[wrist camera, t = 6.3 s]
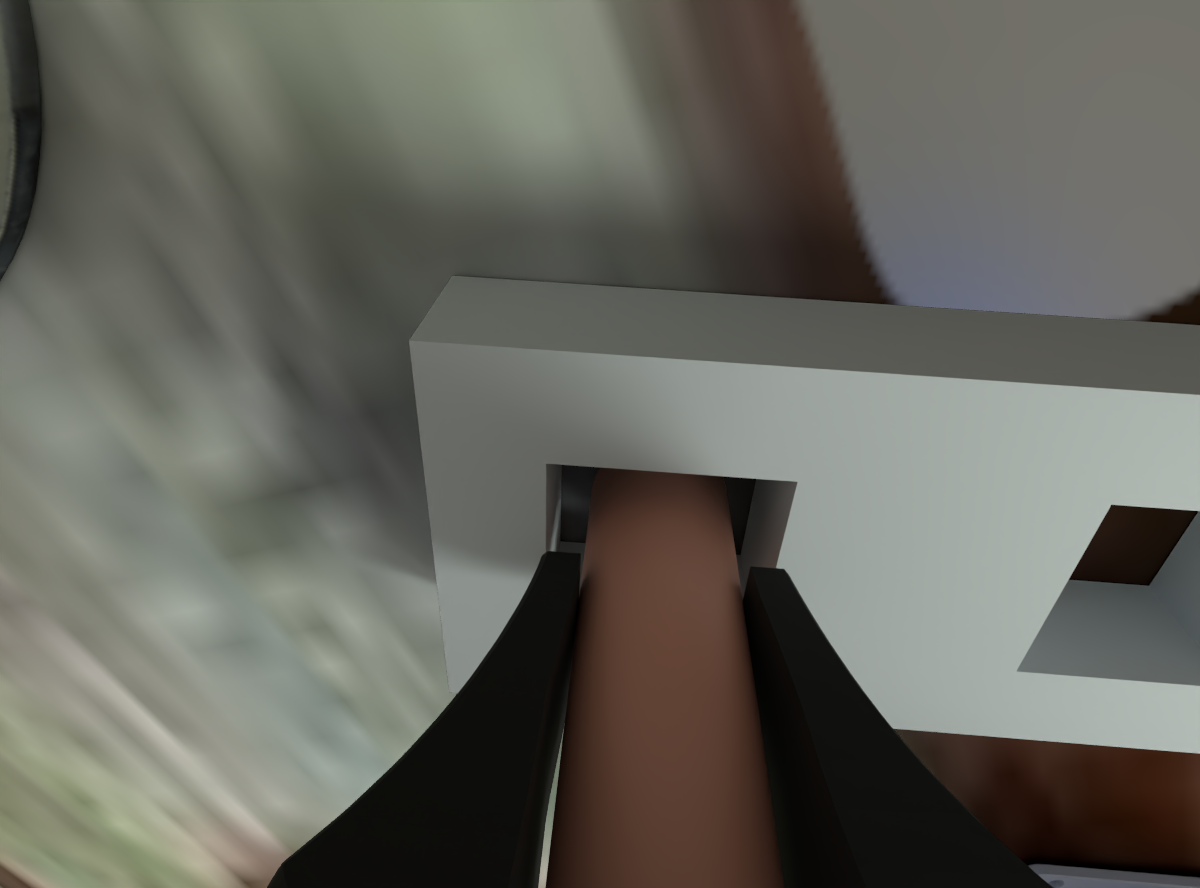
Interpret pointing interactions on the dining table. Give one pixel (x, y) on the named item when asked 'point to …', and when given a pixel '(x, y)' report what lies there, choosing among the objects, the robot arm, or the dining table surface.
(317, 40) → the dining table surface
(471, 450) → the hole block
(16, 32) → the dog bowl
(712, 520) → the peg
